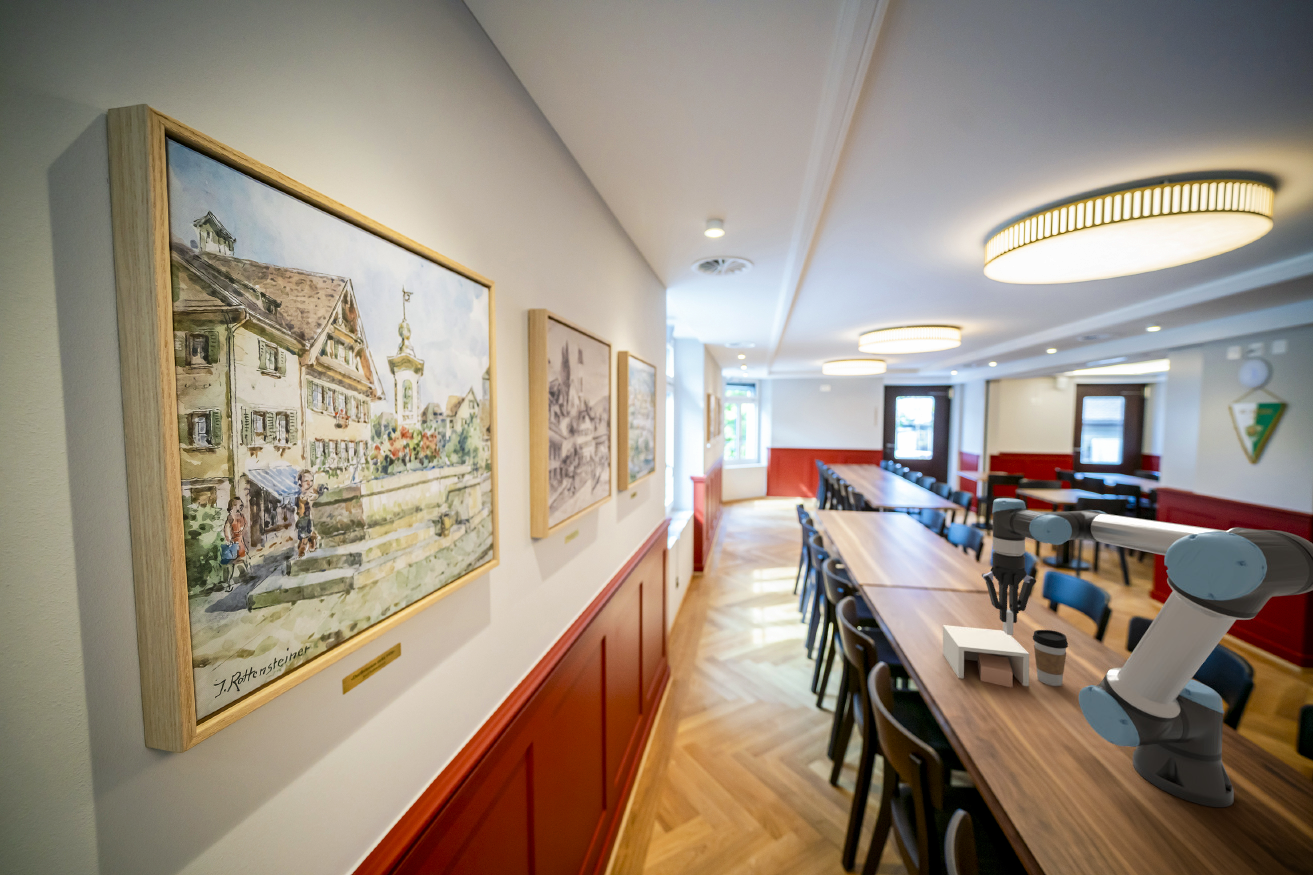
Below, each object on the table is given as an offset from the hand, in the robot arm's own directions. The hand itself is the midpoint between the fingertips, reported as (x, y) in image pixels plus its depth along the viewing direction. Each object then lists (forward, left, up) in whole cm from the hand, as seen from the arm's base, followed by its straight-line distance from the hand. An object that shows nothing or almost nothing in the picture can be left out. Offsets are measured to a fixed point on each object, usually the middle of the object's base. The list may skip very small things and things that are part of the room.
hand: (1008, 632), depth 135 cm
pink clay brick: (+14, -2, -20) cm, 25 cm away
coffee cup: (+15, -17, -20) cm, 30 cm away
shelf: (+18, 0, -20) cm, 27 cm away
